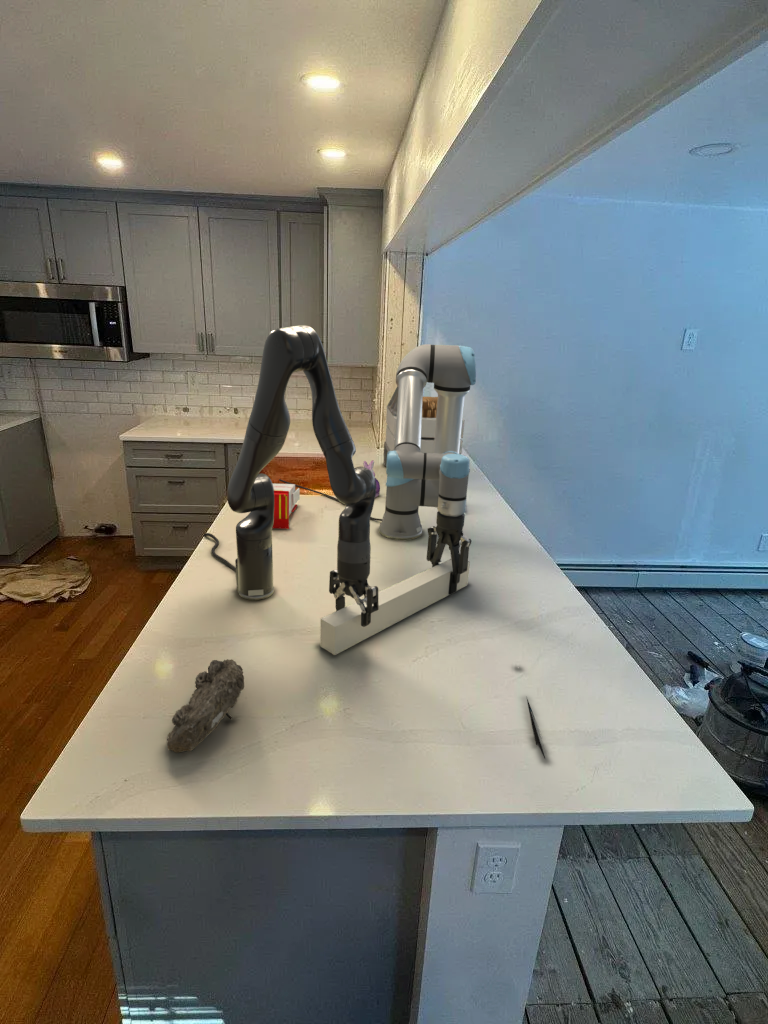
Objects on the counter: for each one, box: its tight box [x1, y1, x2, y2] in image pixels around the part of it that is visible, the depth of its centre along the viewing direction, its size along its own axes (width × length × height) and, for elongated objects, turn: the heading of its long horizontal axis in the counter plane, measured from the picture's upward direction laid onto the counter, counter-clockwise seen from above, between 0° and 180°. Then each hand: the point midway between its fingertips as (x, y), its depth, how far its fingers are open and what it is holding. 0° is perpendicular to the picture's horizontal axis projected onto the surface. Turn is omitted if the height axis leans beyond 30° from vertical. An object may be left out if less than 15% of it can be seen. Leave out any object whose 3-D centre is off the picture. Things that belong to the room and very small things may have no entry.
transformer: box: [383, 385, 465, 467], centre depth 268 cm, size 34×33×41 cm
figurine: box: [362, 460, 381, 498], centre depth 236 cm, size 9×10×15 cm
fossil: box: [166, 658, 245, 754], centre depth 106 cm, size 22×10×15 cm
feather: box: [517, 666, 549, 759], centre depth 114 cm, size 2×28×2 cm
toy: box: [272, 483, 301, 530], centre depth 210 cm, size 12×13×30 cm
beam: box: [319, 558, 471, 656], centre depth 147 cm, size 52×5×8 cm, turn 137°
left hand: (352, 618), depth 133 cm, fingers open, 8 cm apart
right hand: (444, 588), depth 161 cm, fingers closed on beam, 5 cm apart
